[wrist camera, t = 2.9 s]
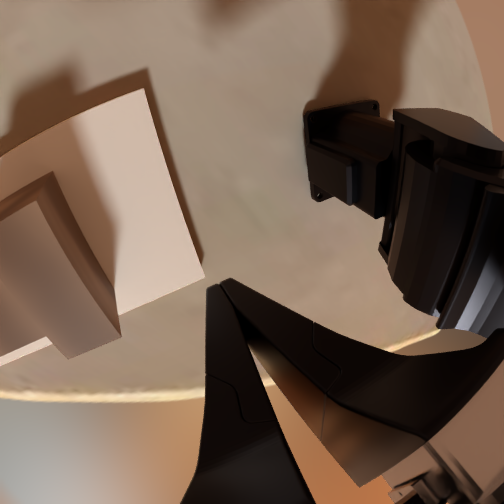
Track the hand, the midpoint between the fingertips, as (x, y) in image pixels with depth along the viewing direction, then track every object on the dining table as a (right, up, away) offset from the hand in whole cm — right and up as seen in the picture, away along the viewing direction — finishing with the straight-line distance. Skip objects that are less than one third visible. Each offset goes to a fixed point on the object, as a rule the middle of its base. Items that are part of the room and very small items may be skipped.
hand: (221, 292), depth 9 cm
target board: (-11, +1, +5) cm, 13 cm away
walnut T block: (-11, +1, +4) cm, 12 cm away
